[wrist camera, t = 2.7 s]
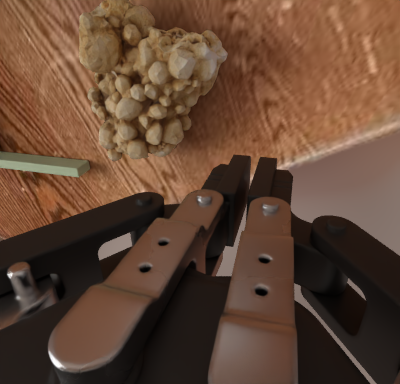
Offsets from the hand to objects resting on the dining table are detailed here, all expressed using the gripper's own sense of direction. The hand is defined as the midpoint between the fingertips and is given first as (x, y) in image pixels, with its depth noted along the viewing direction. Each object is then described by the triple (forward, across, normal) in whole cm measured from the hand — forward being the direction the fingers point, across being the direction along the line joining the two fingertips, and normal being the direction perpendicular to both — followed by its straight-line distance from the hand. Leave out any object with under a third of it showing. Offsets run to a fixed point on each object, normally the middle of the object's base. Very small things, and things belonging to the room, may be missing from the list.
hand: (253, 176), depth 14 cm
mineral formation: (+19, +13, 0) cm, 23 cm away
